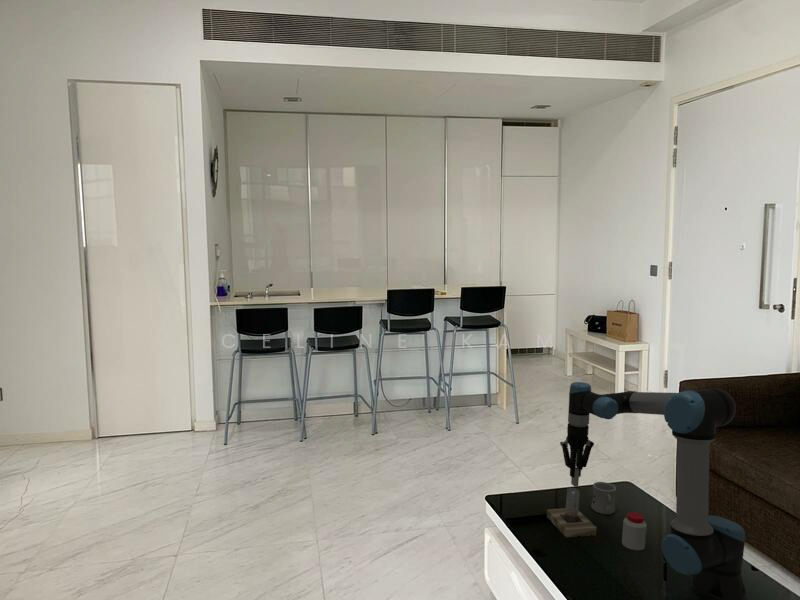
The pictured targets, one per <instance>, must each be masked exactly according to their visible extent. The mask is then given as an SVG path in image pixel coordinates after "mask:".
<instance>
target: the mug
mask: <svg viewBox="0 0 800 600" xmlns="http://www.w3.org/2000/svg"><path fill="white" fill-rule="evenodd" d="M616 491H617V487H616V485H614V484H612V483H610V482H605V481H595V482H594V483H593V484H592V498H591V499H592V500H591V505H590V507H591V510H593V511H594V512H596V513H598V514H601V515H612V514H614V513H615V511H616V503H615V501H616Z"/></svg>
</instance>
